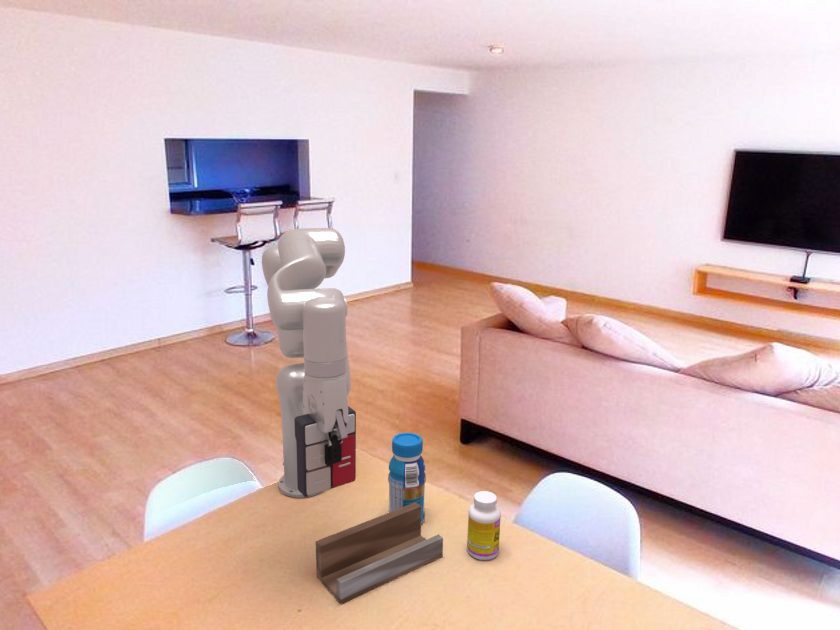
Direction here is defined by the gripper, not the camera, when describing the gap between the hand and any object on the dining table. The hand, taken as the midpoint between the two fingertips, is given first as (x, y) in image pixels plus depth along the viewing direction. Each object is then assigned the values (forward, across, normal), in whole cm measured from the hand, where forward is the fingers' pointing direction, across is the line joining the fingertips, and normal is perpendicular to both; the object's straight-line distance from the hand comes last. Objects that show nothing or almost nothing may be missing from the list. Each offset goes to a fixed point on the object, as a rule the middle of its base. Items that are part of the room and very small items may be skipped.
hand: (327, 457), depth 119 cm
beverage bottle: (+25, -7, +23) cm, 35 cm away
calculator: (+7, -1, 0) cm, 7 cm away
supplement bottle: (+25, +12, +30) cm, 41 cm away
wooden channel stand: (+25, +4, +9) cm, 27 cm away
